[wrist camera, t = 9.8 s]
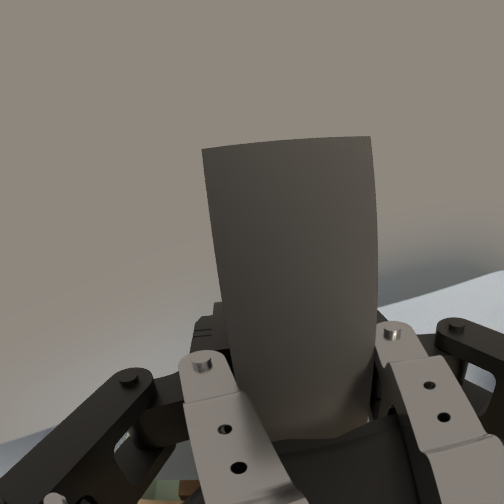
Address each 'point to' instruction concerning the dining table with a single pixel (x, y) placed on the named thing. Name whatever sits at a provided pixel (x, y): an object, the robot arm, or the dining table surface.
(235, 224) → the scraper
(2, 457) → the dining table surface
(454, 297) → the dining table surface
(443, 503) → the robot arm
